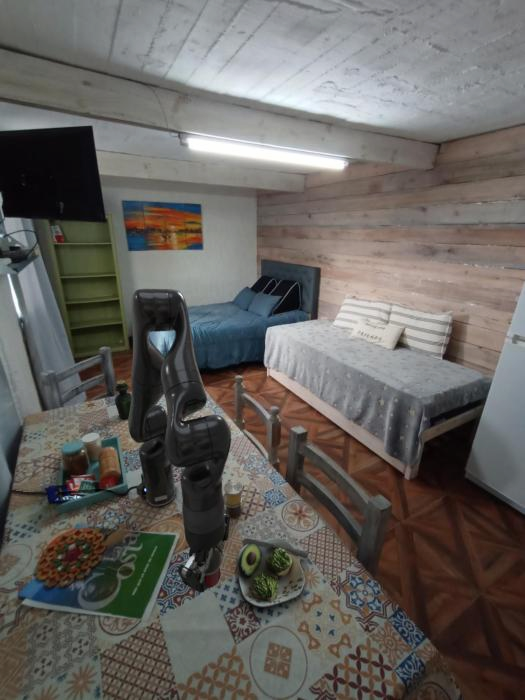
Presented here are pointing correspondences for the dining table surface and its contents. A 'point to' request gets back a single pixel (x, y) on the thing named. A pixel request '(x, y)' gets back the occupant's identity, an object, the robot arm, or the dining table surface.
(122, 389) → the potion bottle
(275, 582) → the salad plate
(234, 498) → the gold pod
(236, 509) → the base pod
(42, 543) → the dining table surface
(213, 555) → the burgundy pod
